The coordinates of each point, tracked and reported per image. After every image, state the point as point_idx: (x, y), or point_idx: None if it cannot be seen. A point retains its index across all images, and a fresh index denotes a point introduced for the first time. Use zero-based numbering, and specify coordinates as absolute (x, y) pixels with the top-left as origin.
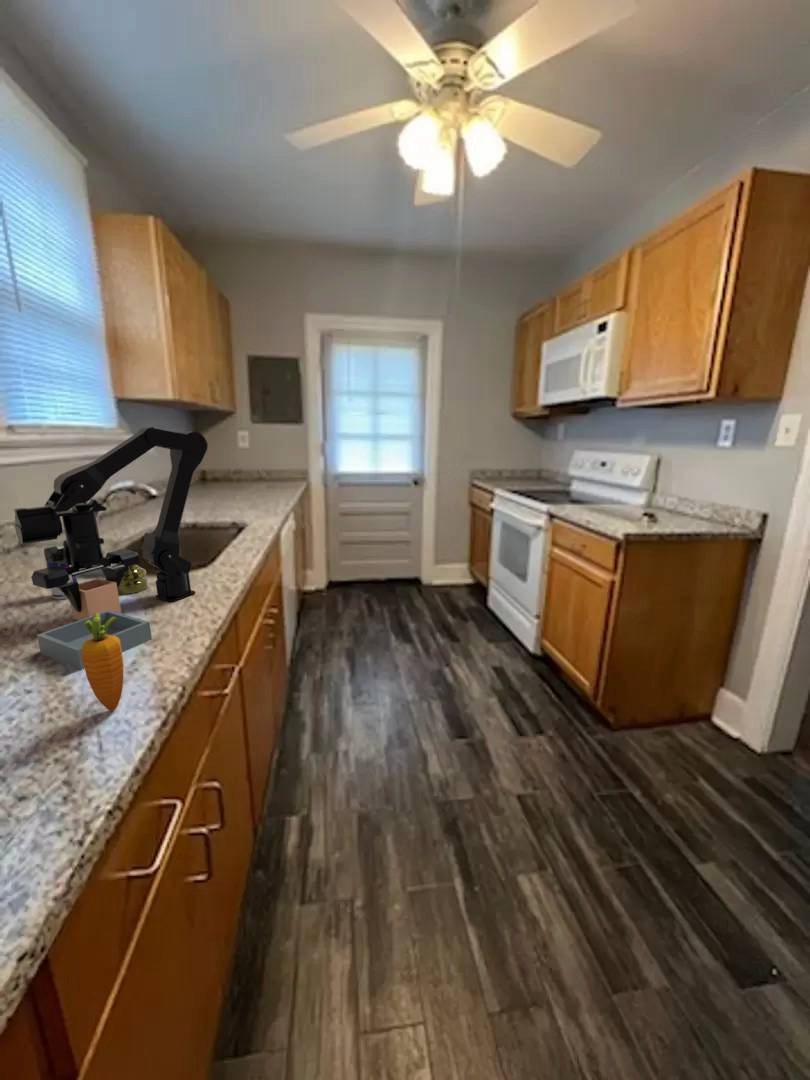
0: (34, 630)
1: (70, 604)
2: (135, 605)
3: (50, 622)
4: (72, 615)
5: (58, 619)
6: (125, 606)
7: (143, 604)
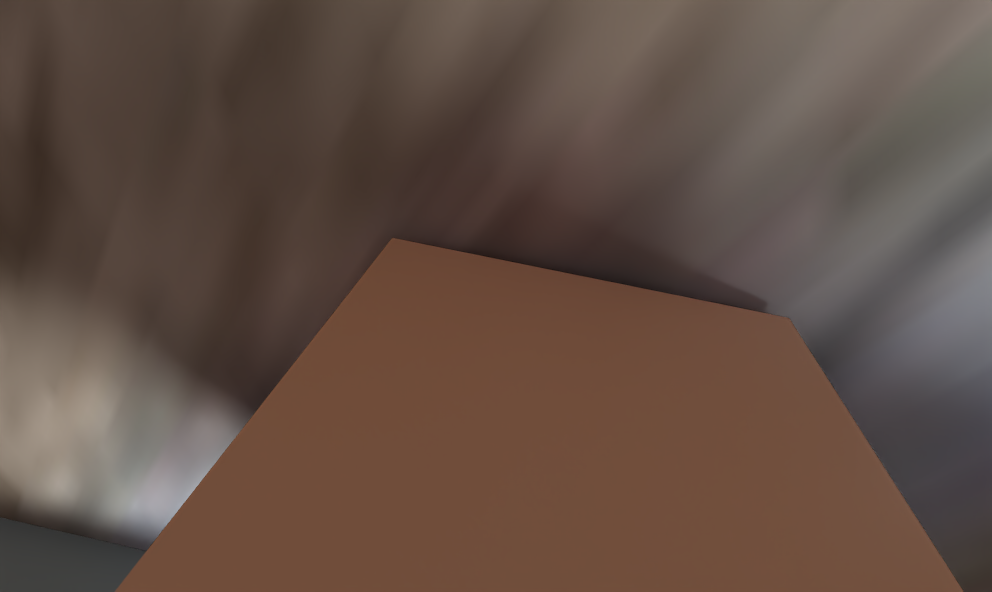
0: (6, 65)
1: (311, 345)
2: (928, 535)
3: (213, 6)
4: (378, 255)
5: (321, 13)
6: (893, 467)
7: (959, 582)
